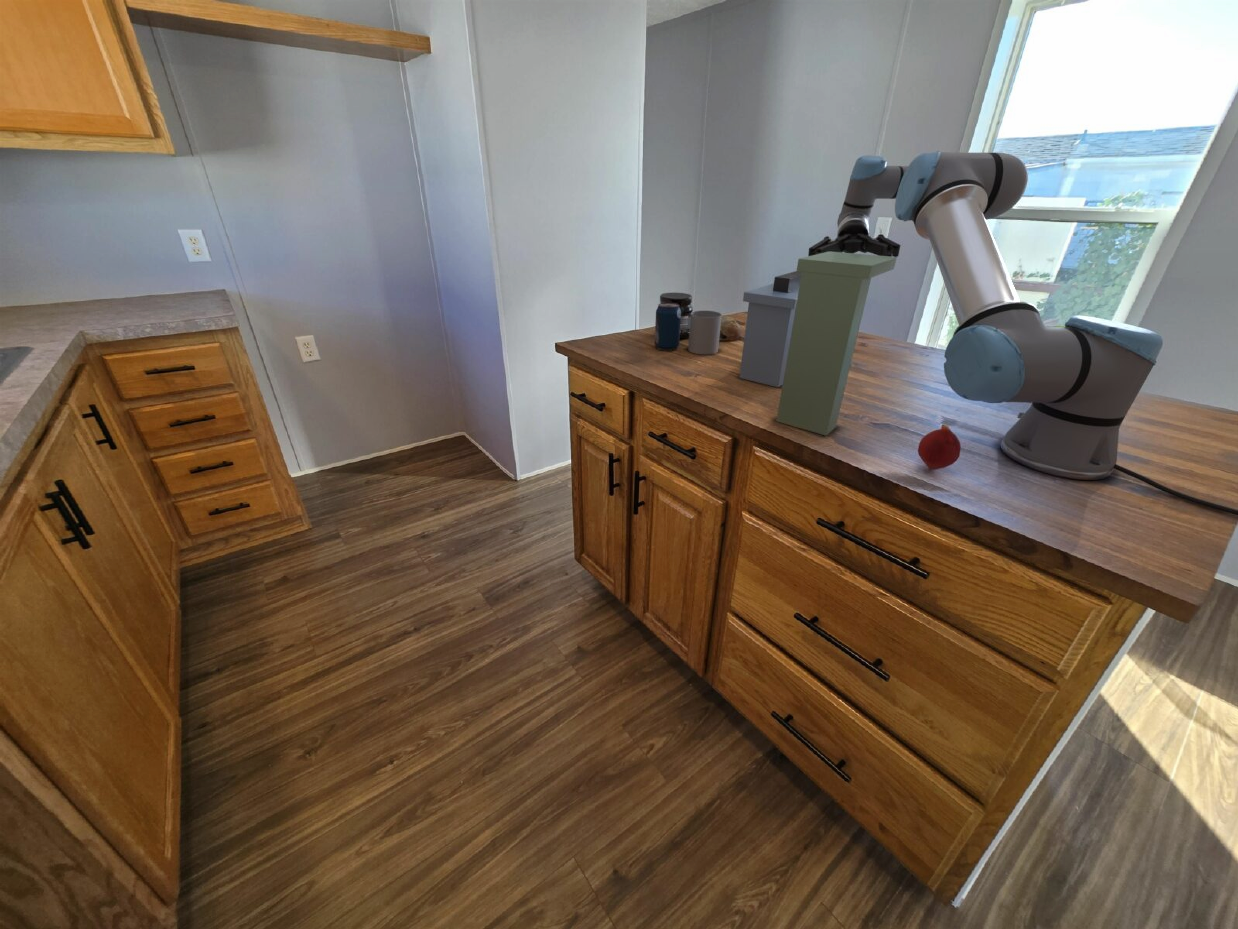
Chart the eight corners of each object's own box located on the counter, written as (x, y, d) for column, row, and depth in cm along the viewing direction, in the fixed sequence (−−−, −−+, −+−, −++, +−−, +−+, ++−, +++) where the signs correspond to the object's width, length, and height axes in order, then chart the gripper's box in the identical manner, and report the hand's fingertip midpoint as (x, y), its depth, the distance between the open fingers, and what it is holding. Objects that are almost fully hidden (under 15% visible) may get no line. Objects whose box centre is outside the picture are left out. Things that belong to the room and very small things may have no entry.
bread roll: (705, 350, 154) (707, 329, 148) (706, 328, 160) (708, 307, 153) (738, 352, 153) (741, 331, 146) (738, 329, 158) (742, 308, 152)
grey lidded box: (814, 368, 129) (830, 286, 119) (780, 389, 115) (795, 299, 105) (770, 358, 135) (782, 280, 126) (733, 377, 122) (743, 291, 112)
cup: (717, 355, 138) (721, 318, 133) (687, 353, 139) (689, 316, 134) (718, 346, 145) (722, 311, 140) (689, 345, 146) (692, 309, 142)
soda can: (683, 347, 144) (686, 304, 138) (669, 352, 140) (671, 308, 134) (664, 343, 148) (666, 300, 142) (649, 348, 144) (651, 304, 138)
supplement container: (663, 329, 161) (665, 290, 155) (695, 333, 157) (698, 293, 152) (651, 337, 153) (652, 296, 147) (684, 342, 149) (687, 300, 143)
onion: (952, 466, 84) (969, 423, 80) (951, 481, 80) (968, 436, 76) (914, 457, 87) (928, 415, 83) (910, 471, 83) (925, 427, 79)
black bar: (824, 280, 126) (827, 267, 125) (787, 292, 112) (789, 278, 110) (811, 278, 128) (813, 266, 127) (772, 290, 114) (774, 276, 112)
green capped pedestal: (856, 414, 103) (896, 256, 88) (831, 437, 94) (871, 265, 79) (800, 400, 110) (828, 251, 95) (771, 419, 101) (798, 258, 86)
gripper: (903, 247, 130) (909, 278, 115) (801, 250, 138) (794, 280, 124) (909, 215, 125) (917, 244, 110) (803, 221, 134) (797, 249, 119)
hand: (852, 263), depth 117 cm, fingers open, 13 cm apart
